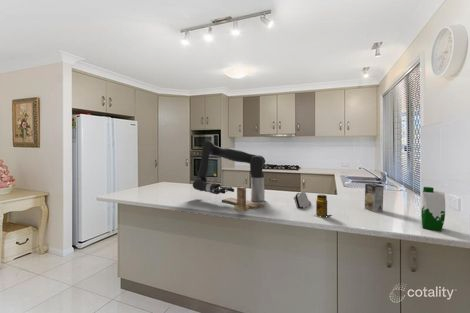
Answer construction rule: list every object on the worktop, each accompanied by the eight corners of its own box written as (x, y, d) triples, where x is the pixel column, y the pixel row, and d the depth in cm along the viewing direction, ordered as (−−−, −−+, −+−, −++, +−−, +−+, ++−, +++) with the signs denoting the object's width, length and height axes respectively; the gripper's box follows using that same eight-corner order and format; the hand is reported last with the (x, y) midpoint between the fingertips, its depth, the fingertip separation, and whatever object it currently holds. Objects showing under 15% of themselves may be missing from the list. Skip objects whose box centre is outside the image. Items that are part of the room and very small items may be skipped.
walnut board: (231, 199, 188) (231, 197, 188) (263, 206, 168) (263, 203, 167) (221, 201, 181) (221, 199, 181) (253, 209, 160) (253, 206, 160)
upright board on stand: (240, 207, 165) (240, 186, 165) (248, 209, 161) (248, 187, 160) (234, 208, 161) (234, 187, 160) (242, 210, 156) (242, 188, 156)
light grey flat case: (304, 208, 161) (299, 193, 162) (297, 210, 163) (292, 195, 165) (311, 203, 175) (306, 189, 176) (305, 204, 177) (300, 191, 179)
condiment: (313, 215, 146) (313, 195, 145) (320, 212, 152) (320, 193, 151) (325, 218, 141) (325, 197, 140) (332, 215, 146) (332, 195, 146)
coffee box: (363, 208, 161) (364, 183, 160) (372, 208, 162) (373, 183, 161) (374, 212, 152) (374, 186, 151) (383, 211, 153) (384, 185, 152)
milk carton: (421, 224, 130) (423, 185, 129) (444, 228, 124) (446, 187, 123) (420, 228, 123) (421, 188, 122) (443, 232, 117) (445, 190, 116)
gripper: (205, 184, 174) (221, 187, 163) (220, 181, 184) (236, 184, 173) (205, 194, 174) (221, 198, 163) (221, 192, 185) (236, 195, 173)
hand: (229, 191), depth 168 cm, fingers open, 8 cm apart
